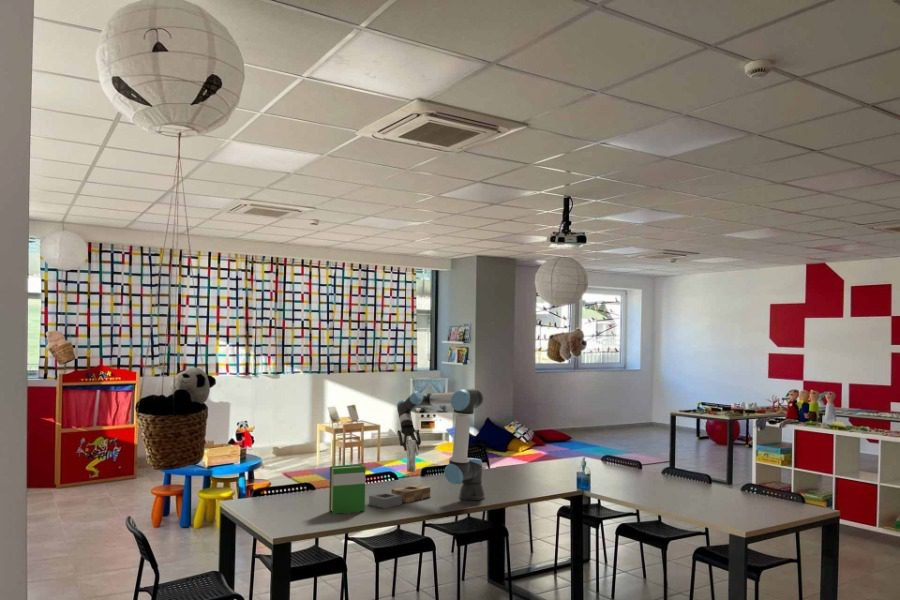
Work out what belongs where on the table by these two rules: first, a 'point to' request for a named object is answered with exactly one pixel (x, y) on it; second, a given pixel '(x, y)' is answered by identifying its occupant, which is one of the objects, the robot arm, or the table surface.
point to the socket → (385, 500)
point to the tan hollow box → (412, 492)
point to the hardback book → (347, 489)
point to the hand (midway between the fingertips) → (412, 454)
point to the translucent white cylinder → (411, 455)
